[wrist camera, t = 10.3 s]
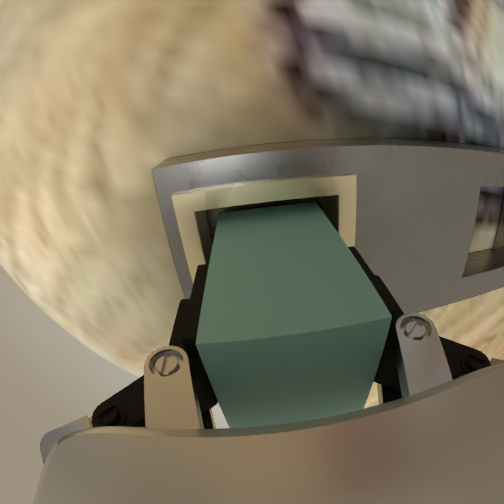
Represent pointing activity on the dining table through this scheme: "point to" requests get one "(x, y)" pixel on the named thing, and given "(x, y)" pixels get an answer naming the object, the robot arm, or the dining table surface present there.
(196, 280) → the robot arm
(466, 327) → the dining table surface
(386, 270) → the grey peg hole board
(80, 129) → the dining table surface
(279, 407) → the peg
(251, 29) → the dining table surface
